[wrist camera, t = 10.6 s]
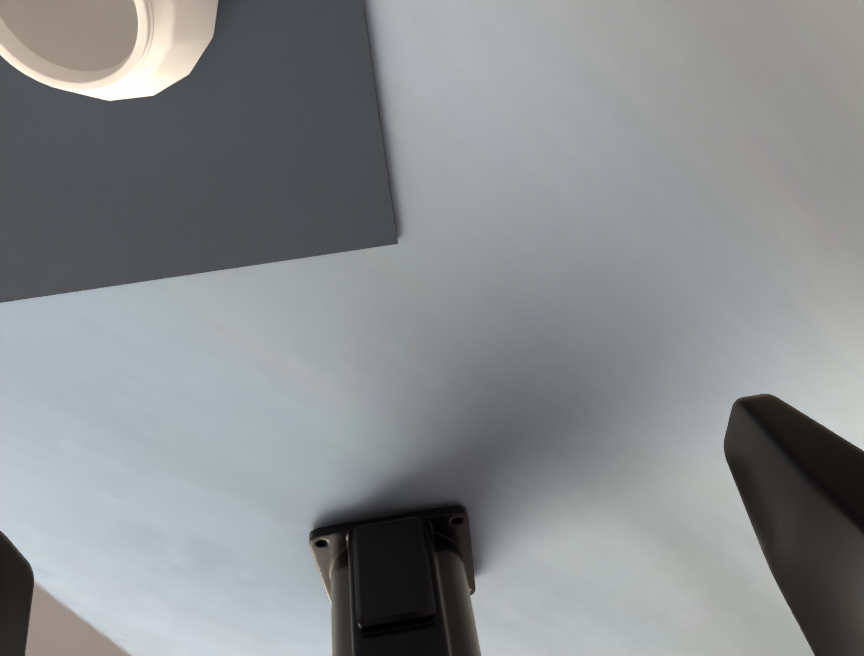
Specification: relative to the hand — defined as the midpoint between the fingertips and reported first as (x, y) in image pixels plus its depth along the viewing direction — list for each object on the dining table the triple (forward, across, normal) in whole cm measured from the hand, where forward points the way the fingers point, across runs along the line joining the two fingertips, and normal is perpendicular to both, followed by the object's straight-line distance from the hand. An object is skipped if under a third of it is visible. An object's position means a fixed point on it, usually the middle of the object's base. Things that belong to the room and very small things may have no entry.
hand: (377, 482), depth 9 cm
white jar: (+12, +5, -4) cm, 13 cm away
